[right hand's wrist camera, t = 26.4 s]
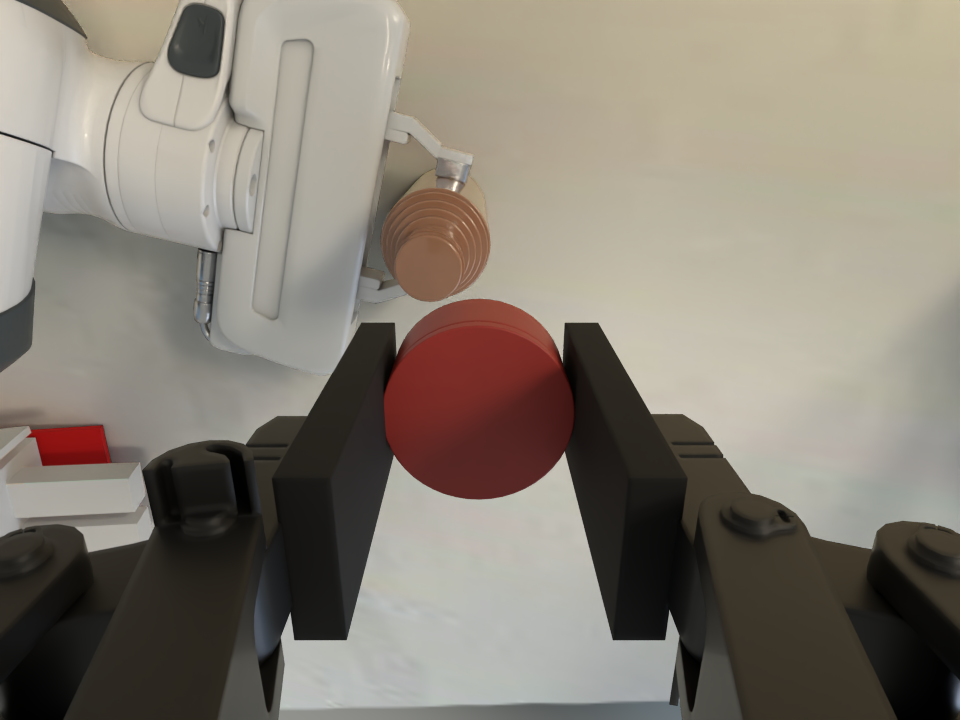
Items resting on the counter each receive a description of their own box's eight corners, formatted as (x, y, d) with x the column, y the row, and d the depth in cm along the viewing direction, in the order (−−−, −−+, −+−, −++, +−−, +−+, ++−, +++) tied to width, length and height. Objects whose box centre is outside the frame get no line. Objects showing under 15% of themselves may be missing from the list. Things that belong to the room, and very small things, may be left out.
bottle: (497, 229, 41) (513, 303, 25) (426, 258, 42) (396, 349, 25) (467, 154, 39) (463, 180, 23) (394, 185, 40) (339, 233, 24)
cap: (540, 277, 14) (550, 303, 12) (578, 432, 15) (592, 476, 13) (371, 323, 14) (354, 354, 12) (423, 469, 15) (415, 518, 13)
